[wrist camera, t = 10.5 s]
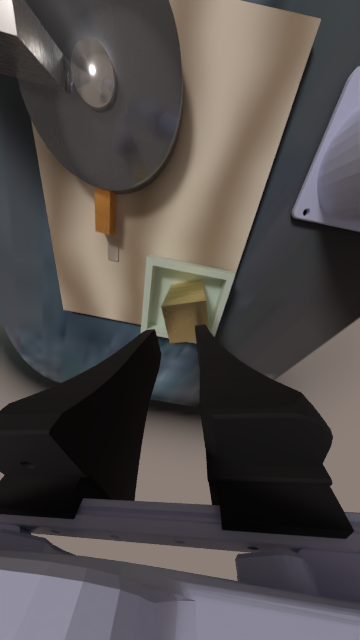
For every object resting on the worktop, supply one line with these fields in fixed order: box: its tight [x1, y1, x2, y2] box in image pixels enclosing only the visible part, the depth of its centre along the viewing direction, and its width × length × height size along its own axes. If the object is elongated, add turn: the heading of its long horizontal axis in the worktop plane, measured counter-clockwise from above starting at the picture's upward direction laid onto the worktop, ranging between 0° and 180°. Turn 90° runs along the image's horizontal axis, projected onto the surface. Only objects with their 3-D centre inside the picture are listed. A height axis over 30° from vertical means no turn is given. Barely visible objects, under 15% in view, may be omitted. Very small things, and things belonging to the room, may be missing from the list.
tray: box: [141, 255, 235, 344], centre depth 16 cm, size 8×8×2 cm
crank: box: [0, 0, 183, 235], centre depth 9 cm, size 13×12×4 cm
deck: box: [31, 0, 321, 325], centre depth 14 cm, size 18×22×1 cm
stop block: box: [161, 279, 209, 343], centre depth 14 cm, size 3×3×6 cm
